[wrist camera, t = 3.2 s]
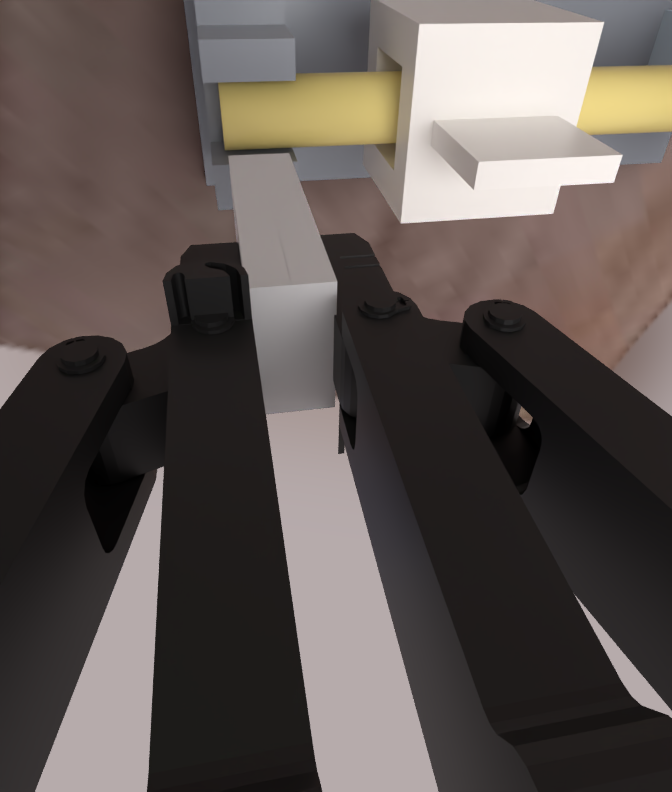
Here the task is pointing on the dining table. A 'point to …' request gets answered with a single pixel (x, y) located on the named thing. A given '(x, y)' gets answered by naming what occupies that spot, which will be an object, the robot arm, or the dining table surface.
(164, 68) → the dining table surface
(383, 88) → the grey rod stand
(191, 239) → the dining table surface
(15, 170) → the dining table surface
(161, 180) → the dining table surface
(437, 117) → the sleeve
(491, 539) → the robot arm
